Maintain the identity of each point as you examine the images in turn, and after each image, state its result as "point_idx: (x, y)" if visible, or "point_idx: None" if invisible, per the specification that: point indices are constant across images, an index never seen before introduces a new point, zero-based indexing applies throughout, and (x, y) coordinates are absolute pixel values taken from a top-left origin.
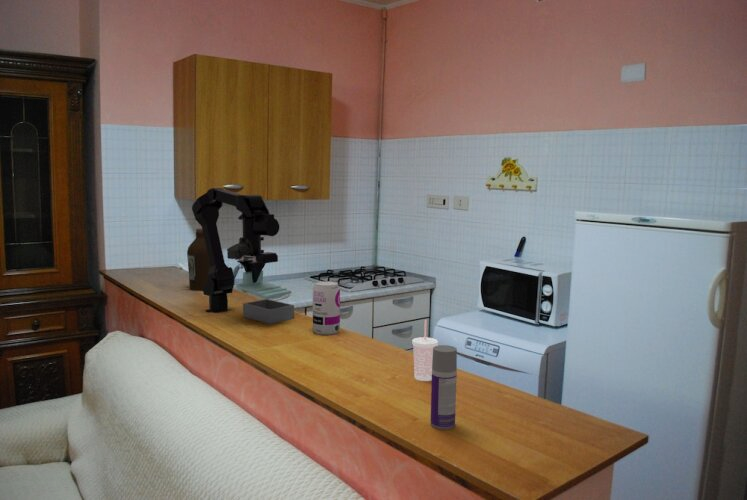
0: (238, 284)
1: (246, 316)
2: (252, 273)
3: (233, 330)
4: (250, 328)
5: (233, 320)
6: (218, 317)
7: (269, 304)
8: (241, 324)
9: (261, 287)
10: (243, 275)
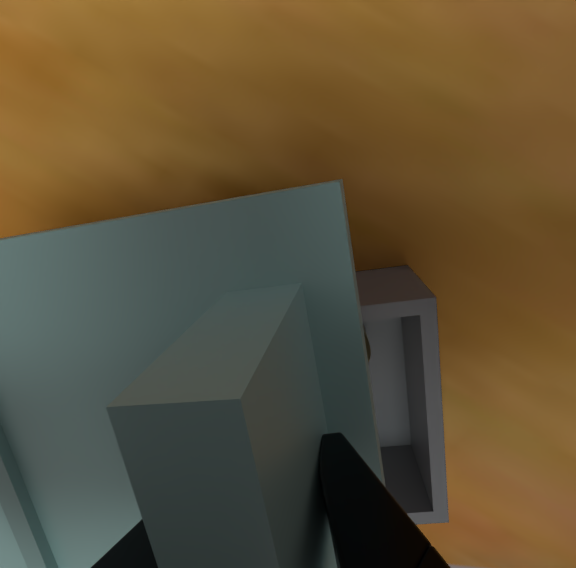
0: (336, 224)
1: (371, 274)
2: (145, 561)
3: (143, 40)
4: (131, 166)
5: (400, 181)
6: (563, 134)
7: (391, 487)
8: (261, 170)
9: (90, 437)
10: (242, 357)
